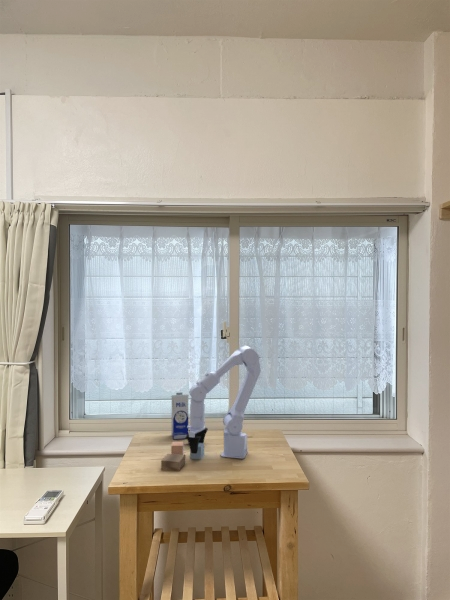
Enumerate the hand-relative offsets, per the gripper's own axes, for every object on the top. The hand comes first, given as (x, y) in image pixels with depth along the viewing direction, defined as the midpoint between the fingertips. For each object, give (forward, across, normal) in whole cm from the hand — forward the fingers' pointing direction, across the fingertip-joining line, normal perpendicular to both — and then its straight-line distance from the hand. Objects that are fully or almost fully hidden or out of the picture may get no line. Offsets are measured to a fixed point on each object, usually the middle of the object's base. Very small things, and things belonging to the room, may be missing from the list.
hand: (197, 449), depth 171 cm
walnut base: (+3, +11, -6) cm, 13 cm away
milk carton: (+3, -21, -15) cm, 26 cm away
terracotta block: (+3, +1, -8) cm, 9 cm away
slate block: (+3, 0, 0) cm, 3 cm away
